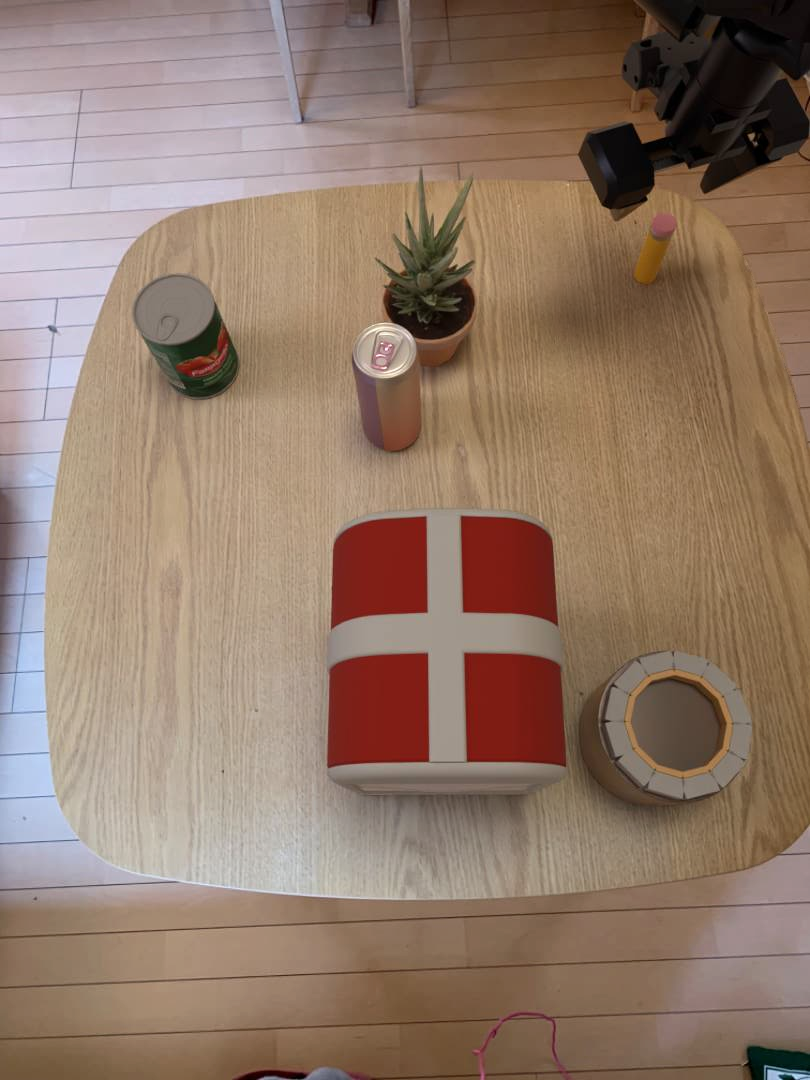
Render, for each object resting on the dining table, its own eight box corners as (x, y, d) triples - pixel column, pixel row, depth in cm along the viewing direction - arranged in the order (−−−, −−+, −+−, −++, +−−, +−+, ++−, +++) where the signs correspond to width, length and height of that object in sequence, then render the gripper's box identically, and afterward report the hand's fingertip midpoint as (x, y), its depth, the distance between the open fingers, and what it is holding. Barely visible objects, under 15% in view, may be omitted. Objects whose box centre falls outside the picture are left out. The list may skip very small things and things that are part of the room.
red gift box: (526, 603, 81) (569, 499, 56) (536, 795, 76) (588, 777, 50) (354, 604, 82) (318, 502, 56) (350, 796, 76) (309, 778, 51)
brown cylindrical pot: (685, 657, 79) (718, 635, 70) (732, 787, 75) (772, 781, 66) (562, 688, 79) (578, 670, 70) (602, 821, 75) (625, 820, 66)
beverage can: (356, 445, 87) (341, 370, 73) (373, 395, 89) (362, 313, 75) (411, 460, 86) (407, 387, 72) (428, 409, 88) (427, 329, 74)
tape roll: (715, 641, 70) (721, 637, 69) (766, 777, 66) (773, 776, 65) (584, 673, 69) (588, 670, 68) (628, 813, 66) (633, 813, 64)
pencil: (651, 263, 93) (672, 210, 85) (659, 281, 92) (680, 229, 84) (630, 268, 93) (649, 215, 85) (637, 286, 92) (657, 234, 84)
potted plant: (477, 306, 92) (492, 129, 69) (470, 383, 89) (483, 226, 66) (386, 300, 93) (370, 122, 69) (376, 376, 90) (355, 217, 66)
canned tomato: (181, 328, 92) (149, 264, 82) (249, 344, 91) (226, 281, 81) (155, 391, 90) (119, 333, 80) (225, 407, 89) (197, 351, 79)
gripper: (795, -40, 66) (711, 105, 81) (578, 19, 63) (533, 157, 79) (860, 77, 64) (761, 203, 79) (638, 143, 61) (580, 260, 77)
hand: (659, 203), depth 78 cm, fingers open, 9 cm apart
